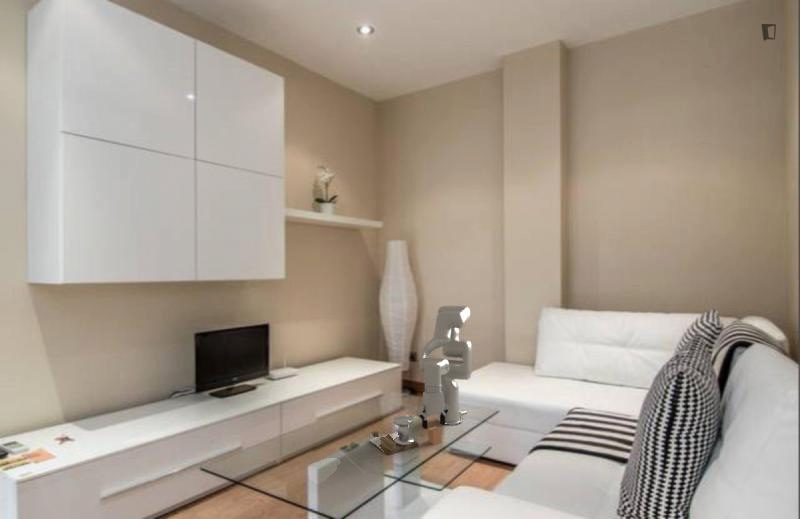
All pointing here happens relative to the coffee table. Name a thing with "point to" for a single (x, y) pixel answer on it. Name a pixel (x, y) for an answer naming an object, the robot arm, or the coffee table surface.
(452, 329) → the robot arm
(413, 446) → the winding board
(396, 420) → the bobbin
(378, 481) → the coffee table surface
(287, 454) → the coffee table surface
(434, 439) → the orange brown block
